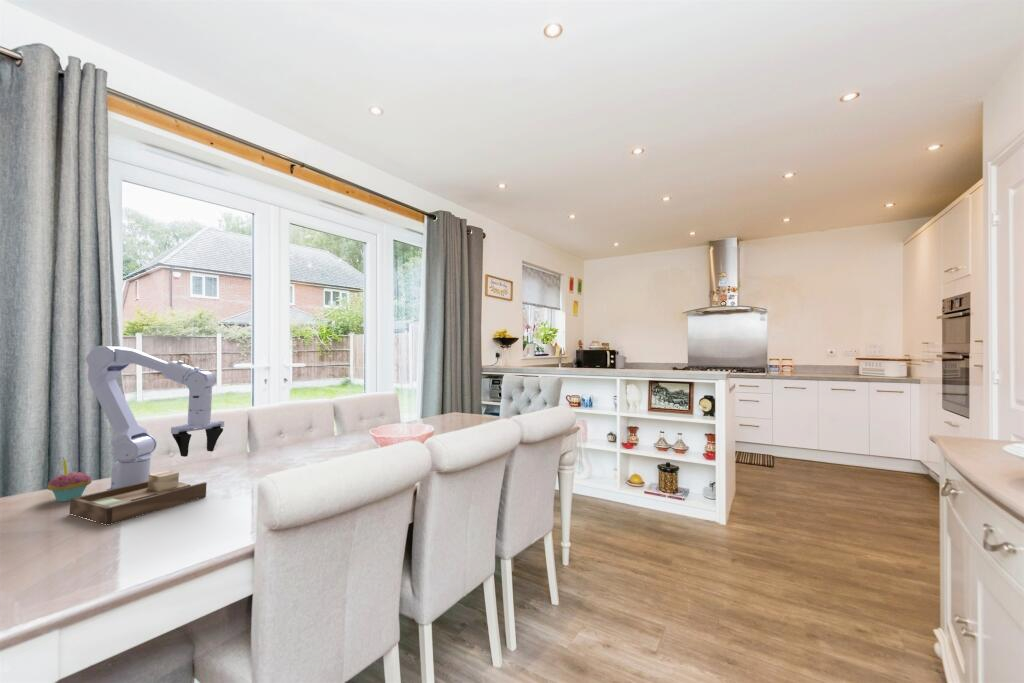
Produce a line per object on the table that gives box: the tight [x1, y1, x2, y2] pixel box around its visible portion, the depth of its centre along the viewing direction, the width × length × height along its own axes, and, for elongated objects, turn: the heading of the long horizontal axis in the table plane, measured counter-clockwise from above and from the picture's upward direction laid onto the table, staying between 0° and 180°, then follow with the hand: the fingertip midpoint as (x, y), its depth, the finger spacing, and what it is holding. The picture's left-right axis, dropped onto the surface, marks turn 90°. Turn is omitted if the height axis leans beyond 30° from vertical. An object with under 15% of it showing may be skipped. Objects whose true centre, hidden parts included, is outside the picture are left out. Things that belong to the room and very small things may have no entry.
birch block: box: [148, 470, 180, 491], centre depth 121 cm, size 5×5×4 cm
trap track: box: [69, 481, 208, 526], centre depth 114 cm, size 16×23×4 cm
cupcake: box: [47, 457, 93, 502], centre depth 117 cm, size 9×8×12 cm
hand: (197, 453), depth 130 cm, fingers open, 7 cm apart
